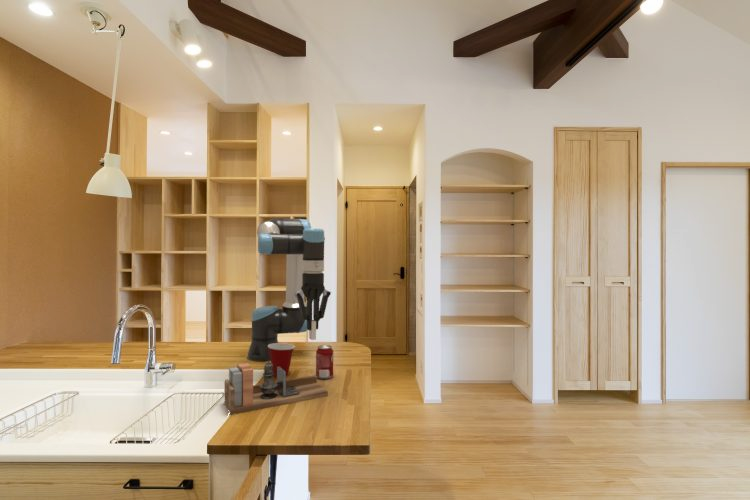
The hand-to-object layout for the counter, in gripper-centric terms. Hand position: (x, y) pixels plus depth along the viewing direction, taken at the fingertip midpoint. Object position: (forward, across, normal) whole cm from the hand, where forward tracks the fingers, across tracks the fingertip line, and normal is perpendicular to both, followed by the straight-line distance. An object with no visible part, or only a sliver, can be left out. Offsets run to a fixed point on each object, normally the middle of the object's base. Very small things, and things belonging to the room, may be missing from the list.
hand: (312, 338), depth 140 cm
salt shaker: (+17, -16, -1) cm, 23 cm away
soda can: (+19, +10, +13) cm, 25 cm away
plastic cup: (+20, -4, +24) cm, 31 cm away
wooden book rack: (+19, -13, -1) cm, 23 cm away
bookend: (+17, -9, -1) cm, 19 cm away
